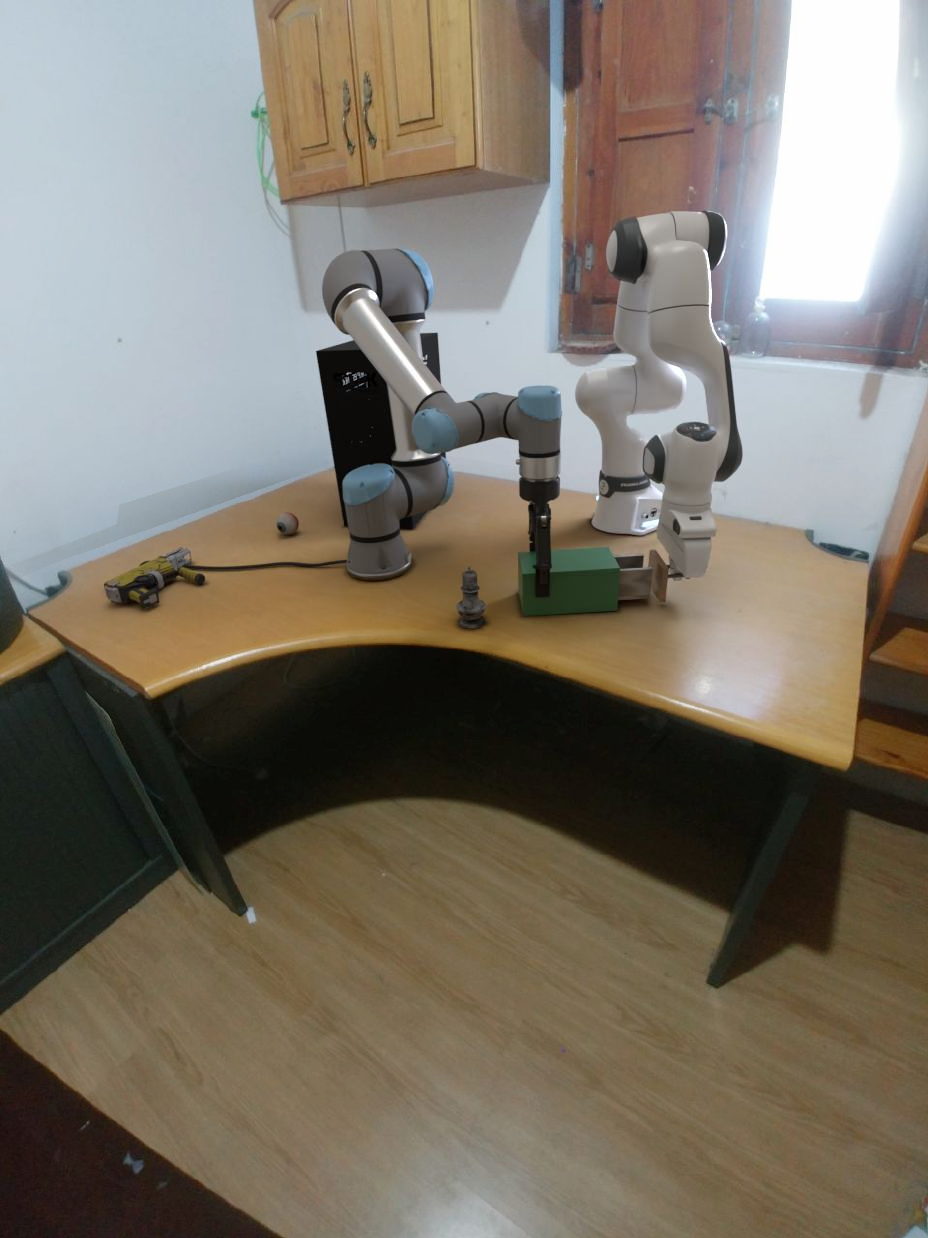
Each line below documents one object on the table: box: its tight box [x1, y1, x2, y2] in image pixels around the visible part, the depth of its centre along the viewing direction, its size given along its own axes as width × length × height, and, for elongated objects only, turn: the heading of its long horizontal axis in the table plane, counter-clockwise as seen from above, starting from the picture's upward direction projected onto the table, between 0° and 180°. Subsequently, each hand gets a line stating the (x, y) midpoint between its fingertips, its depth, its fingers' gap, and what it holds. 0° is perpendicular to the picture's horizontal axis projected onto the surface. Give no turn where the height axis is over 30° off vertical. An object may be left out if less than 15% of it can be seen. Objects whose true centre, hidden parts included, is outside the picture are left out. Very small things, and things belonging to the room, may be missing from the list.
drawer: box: [613, 549, 691, 603], centre depth 121 cm, size 23×9×7 cm, turn 91°
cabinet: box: [517, 546, 620, 617], centre depth 122 cm, size 19×10×9 cm, turn 91°
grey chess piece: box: [455, 565, 487, 629], centre depth 116 cm, size 6×6×12 cm
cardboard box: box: [315, 332, 447, 530], centre depth 170 cm, size 38×20×45 cm, turn 167°
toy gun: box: [103, 546, 206, 610], centre depth 139 cm, size 5×24×15 cm
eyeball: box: [275, 511, 300, 536], centre depth 163 cm, size 6×6×6 cm
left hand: (539, 583), depth 122 cm, fingers closed on cabinet, 10 cm apart
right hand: (675, 577), depth 122 cm, fingers closed, pressing on drawer
